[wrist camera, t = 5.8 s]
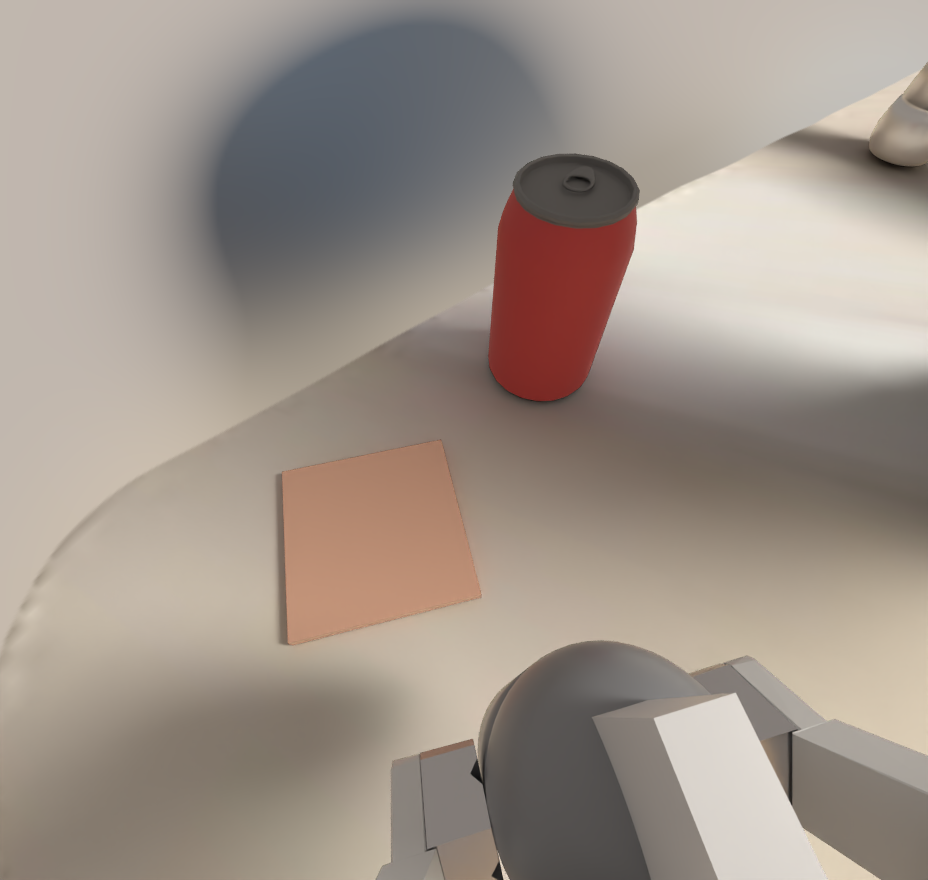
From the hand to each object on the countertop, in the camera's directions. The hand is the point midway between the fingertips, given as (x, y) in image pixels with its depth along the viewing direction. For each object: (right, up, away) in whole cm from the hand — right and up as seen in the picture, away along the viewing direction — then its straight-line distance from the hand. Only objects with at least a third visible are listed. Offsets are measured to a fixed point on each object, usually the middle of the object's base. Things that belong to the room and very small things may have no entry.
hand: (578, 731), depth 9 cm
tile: (-7, +1, +15) cm, 17 cm away
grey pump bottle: (0, -3, +4) cm, 5 cm away
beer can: (+3, +10, +22) cm, 24 cm away
